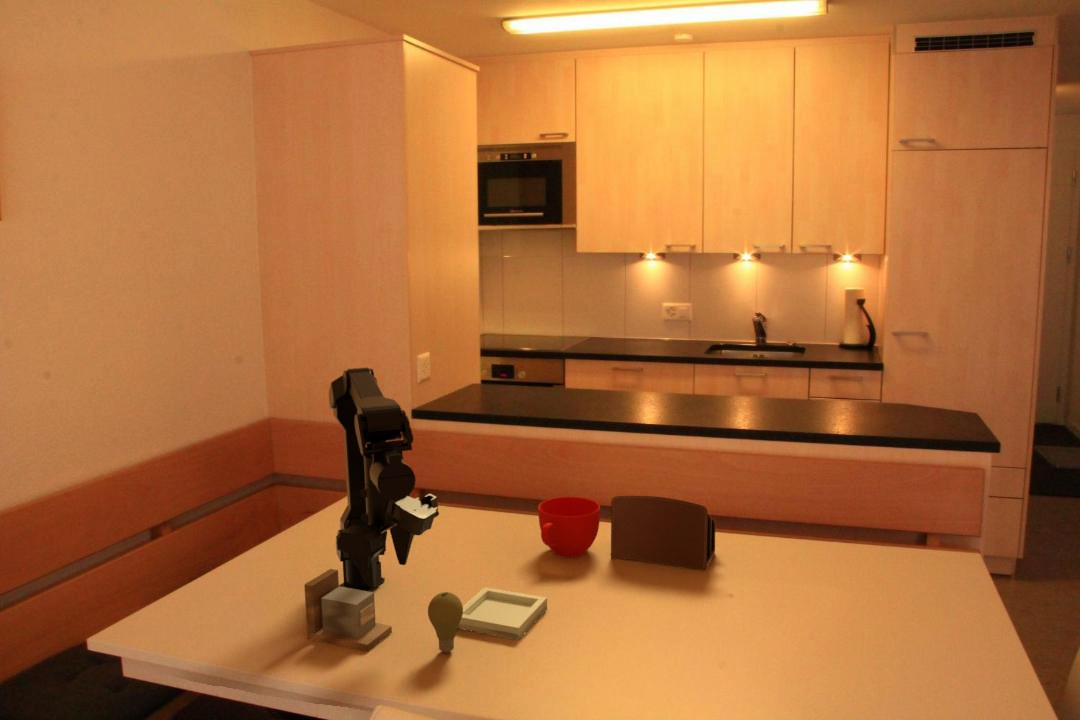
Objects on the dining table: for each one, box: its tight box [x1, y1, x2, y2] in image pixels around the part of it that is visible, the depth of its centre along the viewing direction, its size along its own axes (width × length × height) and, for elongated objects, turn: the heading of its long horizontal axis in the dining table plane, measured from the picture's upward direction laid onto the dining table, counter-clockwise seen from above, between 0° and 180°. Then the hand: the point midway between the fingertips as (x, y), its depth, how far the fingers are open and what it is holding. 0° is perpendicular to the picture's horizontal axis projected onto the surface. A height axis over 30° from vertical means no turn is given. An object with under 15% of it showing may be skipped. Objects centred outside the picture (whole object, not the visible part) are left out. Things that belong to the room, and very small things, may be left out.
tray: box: [457, 587, 548, 641], centre depth 147 cm, size 12×12×2 cm
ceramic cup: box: [537, 496, 601, 559], centre depth 175 cm, size 13×17×10 cm
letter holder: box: [610, 495, 716, 572], centre depth 173 cm, size 10×20×14 cm, turn 68°
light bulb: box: [427, 591, 464, 654], centre depth 135 cm, size 6×6×10 cm
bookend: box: [303, 568, 393, 653], centre depth 141 cm, size 12×7×10 cm, turn 67°
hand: (387, 574), depth 137 cm, fingers open, 9 cm apart
